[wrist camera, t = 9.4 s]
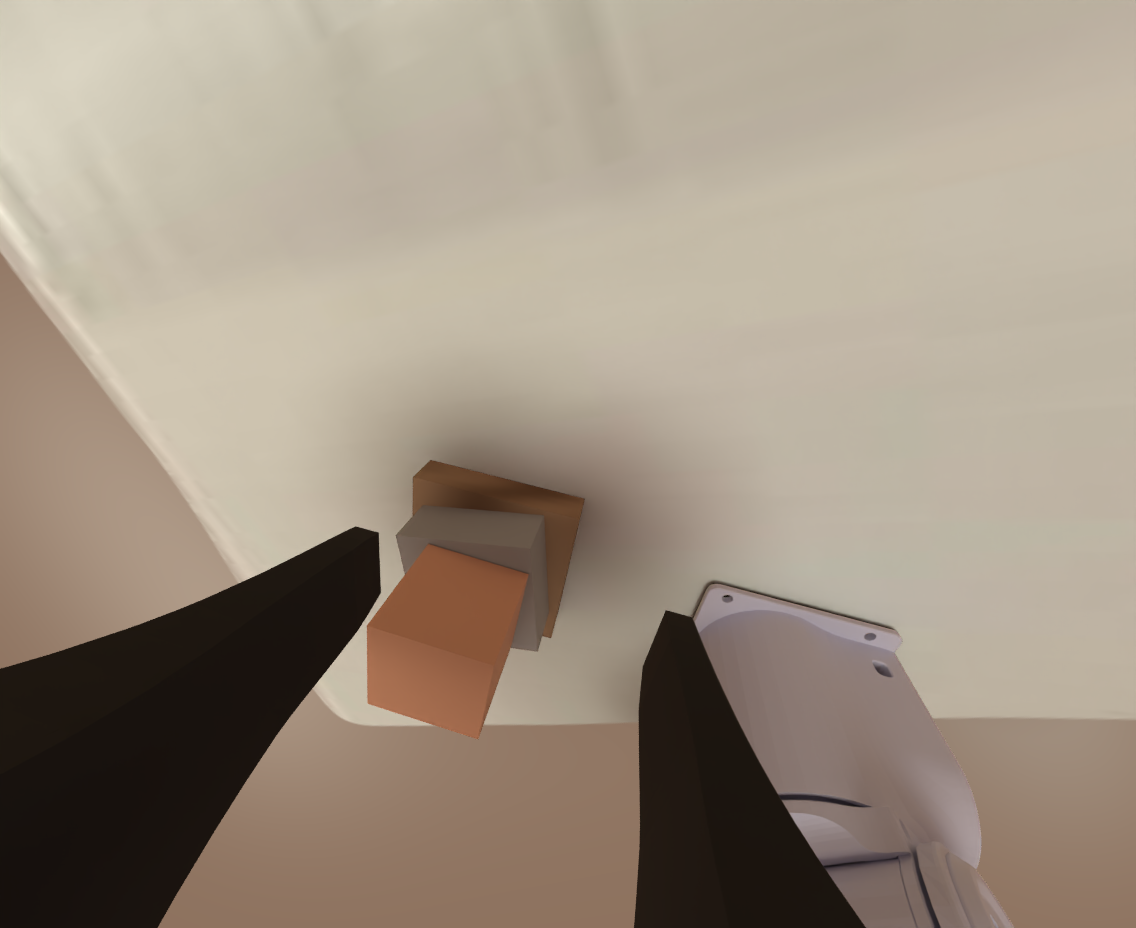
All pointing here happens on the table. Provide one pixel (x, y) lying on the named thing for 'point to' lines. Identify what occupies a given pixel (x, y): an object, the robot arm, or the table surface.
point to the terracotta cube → (444, 639)
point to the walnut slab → (503, 495)
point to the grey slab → (489, 553)
